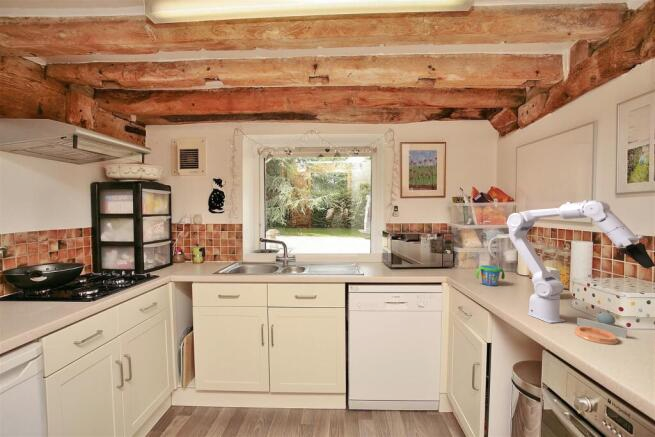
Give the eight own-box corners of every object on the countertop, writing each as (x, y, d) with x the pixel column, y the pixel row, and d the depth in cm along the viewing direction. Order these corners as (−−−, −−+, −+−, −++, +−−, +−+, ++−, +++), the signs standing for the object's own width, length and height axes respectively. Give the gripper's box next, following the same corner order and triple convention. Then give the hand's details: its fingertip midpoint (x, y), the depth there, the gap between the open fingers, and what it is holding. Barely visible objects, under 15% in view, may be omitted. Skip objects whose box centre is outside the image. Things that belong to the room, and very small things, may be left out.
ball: (593, 323, 111) (593, 310, 111) (602, 322, 113) (603, 309, 112) (608, 329, 106) (609, 315, 106) (618, 327, 108) (619, 314, 107)
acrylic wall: (576, 325, 109) (577, 318, 109) (577, 324, 110) (578, 317, 110) (626, 338, 99) (626, 330, 99) (626, 337, 100) (627, 329, 100)
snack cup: (499, 282, 171) (500, 265, 171) (509, 287, 161) (509, 269, 160) (472, 281, 173) (472, 264, 172) (479, 286, 162) (480, 268, 162)
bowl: (566, 331, 104) (566, 327, 104) (588, 328, 106) (588, 324, 106) (602, 346, 93) (602, 341, 93) (626, 342, 96) (626, 337, 96)
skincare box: (534, 294, 148) (535, 265, 147) (545, 294, 149) (546, 265, 148) (548, 300, 140) (549, 269, 139) (559, 299, 140) (561, 269, 140)
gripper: (627, 221, 91) (665, 259, 84) (633, 226, 100) (667, 261, 93) (601, 233, 95) (635, 271, 88) (609, 237, 104) (640, 271, 97)
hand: (650, 267), depth 90 cm, fingers open, 7 cm apart
